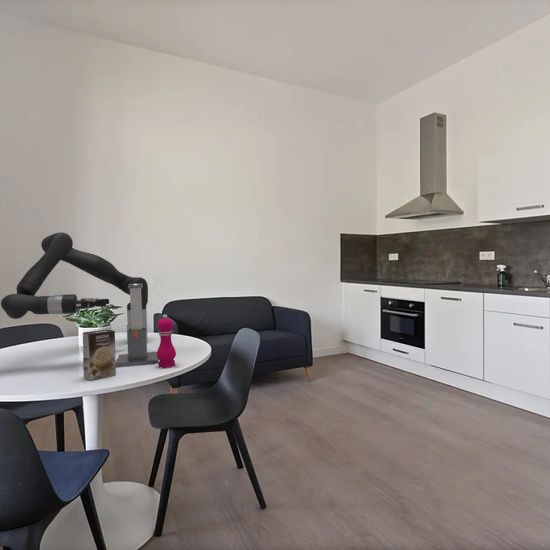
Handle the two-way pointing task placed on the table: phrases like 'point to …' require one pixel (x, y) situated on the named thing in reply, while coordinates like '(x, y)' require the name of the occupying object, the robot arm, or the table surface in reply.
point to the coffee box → (99, 354)
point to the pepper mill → (165, 343)
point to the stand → (137, 350)
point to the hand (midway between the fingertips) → (107, 302)
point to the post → (136, 306)
